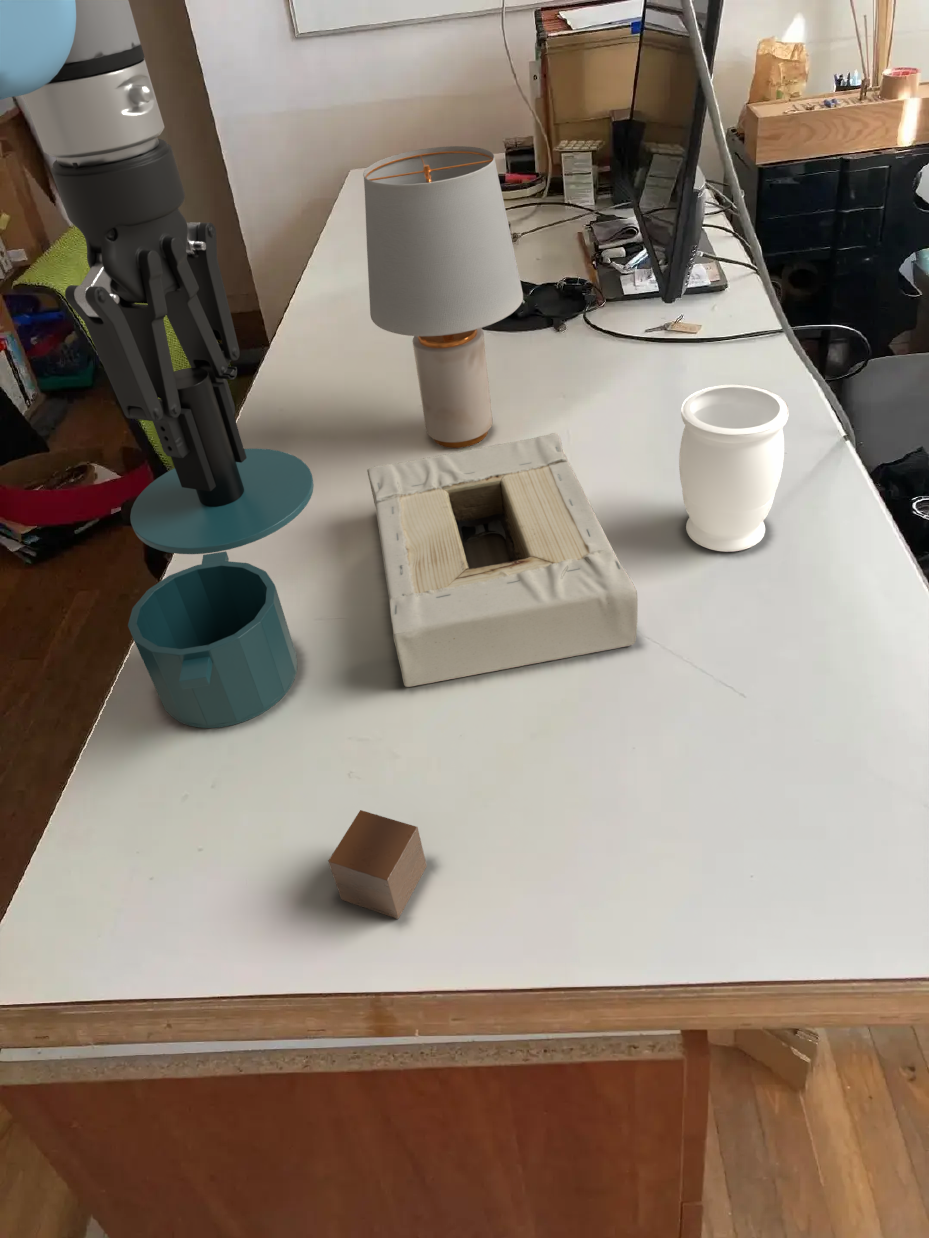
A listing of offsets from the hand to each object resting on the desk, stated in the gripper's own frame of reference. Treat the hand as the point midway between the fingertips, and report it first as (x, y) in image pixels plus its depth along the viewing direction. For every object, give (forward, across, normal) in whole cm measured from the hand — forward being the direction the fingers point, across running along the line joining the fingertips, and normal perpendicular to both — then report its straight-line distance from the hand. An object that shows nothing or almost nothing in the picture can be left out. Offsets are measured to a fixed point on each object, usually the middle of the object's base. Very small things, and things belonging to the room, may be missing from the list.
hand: (214, 471), depth 73 cm
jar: (+26, +38, -34) cm, 57 cm away
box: (+26, +24, -12) cm, 37 cm away
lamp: (+26, +52, +4) cm, 58 cm away
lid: (+3, 0, 0) cm, 3 cm away
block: (+26, -15, -18) cm, 35 cm away
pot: (+26, +1, +8) cm, 27 cm away
